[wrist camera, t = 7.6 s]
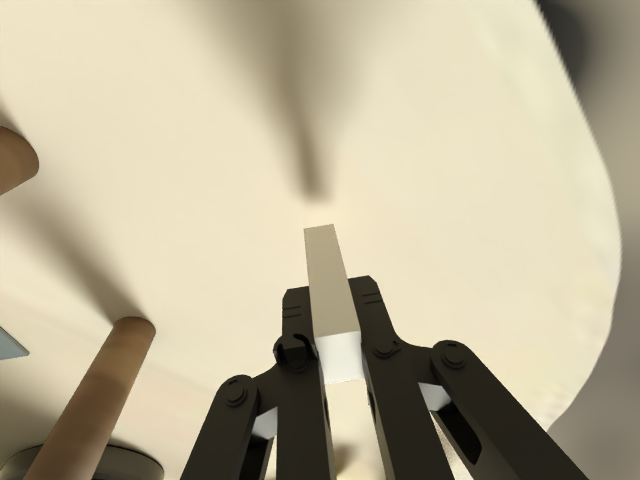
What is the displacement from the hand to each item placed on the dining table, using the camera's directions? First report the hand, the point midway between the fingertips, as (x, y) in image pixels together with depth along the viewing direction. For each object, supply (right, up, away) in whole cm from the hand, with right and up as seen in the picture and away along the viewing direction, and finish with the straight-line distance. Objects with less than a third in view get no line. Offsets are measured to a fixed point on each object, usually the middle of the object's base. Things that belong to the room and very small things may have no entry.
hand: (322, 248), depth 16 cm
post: (-13, -6, +5) cm, 15 cm away
